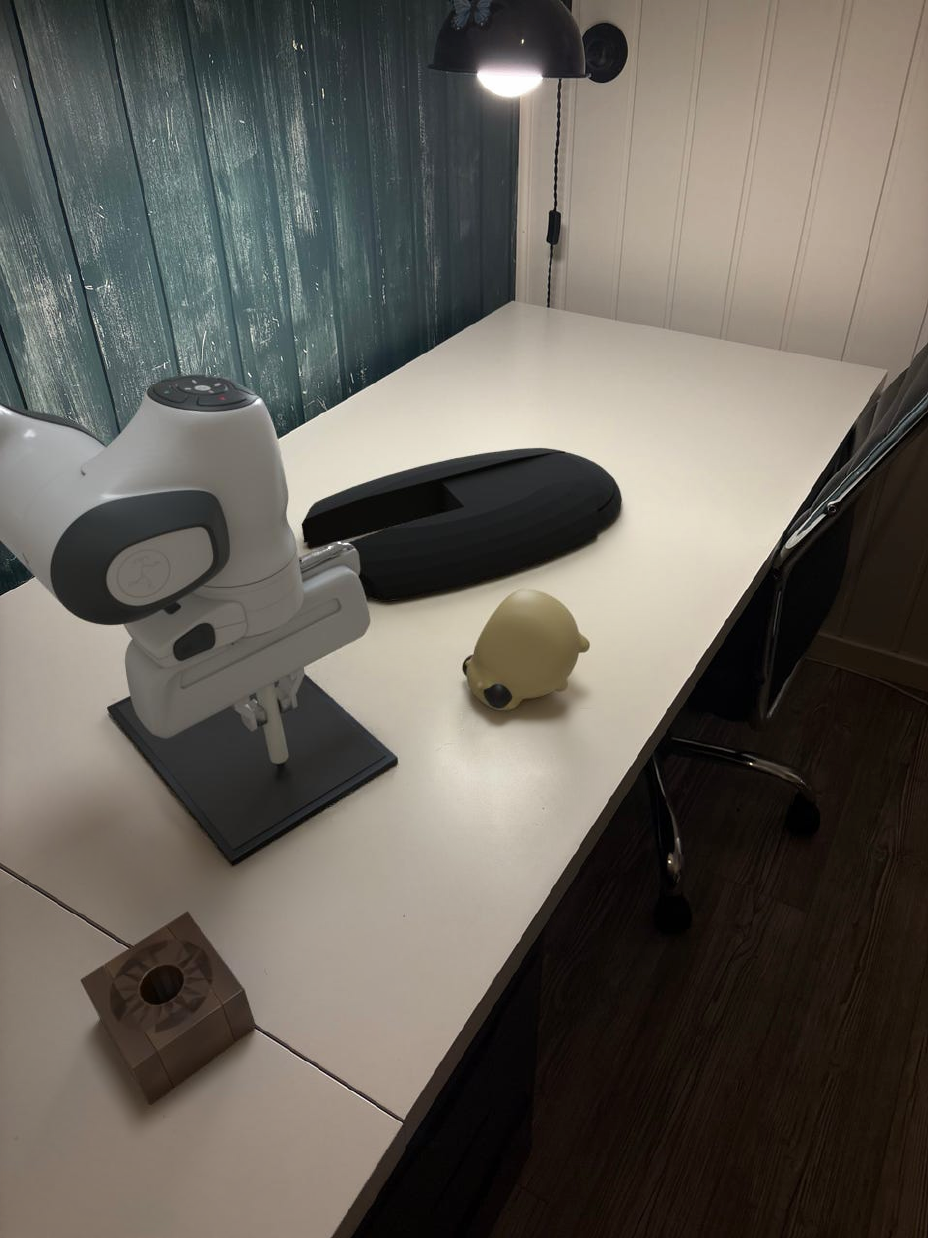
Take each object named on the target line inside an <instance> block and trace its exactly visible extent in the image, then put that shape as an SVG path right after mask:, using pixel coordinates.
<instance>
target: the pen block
mask: <svg viewBox="0 0 928 1238" xmlns="http://www.w3.org/2000/svg"><path fill="white" fill-rule="evenodd" d="M80 984H81V985H82V988H84V990H85V992H86V995H87V996H88V999H89V1000H90V1003H91V1004H92V1006H93V1008H94V1010H95V1012H96V1014H97V1016H98V1017H99V1019H100V1021H101V1023H102V1025H103V1027H104V1029H106V1032H107V1033H108V1035H109V1036H110V1039H111V1040H112V1042H113V1043H114V1045H115V1047H116V1049H117V1051H118V1052H119V1054H120V1055H121V1057H122V1059H123V1061H124V1063H125V1064H126V1067H127V1068H128V1070H129V1072H130V1074H131V1075H132V1077H133V1078H134V1080H135V1082H136V1084H137V1085H138V1088H139V1089H140V1090H141V1092H142V1094H143V1096H144V1097H145V1100H146V1101H147V1103H148V1104H149V1106H150V1105H153V1104H155V1102H157V1101H158V1100H159V1099H161V1098H162V1097H164V1096H165V1095H166V1094H168V1093H170V1092H171V1091H172V1090H173V1089H174V1088H176V1087H178V1086H179V1085H180V1084H182V1083H183V1082H184V1081H186V1080H187V1079H189V1078H190V1077H191V1076H192V1075H194V1074H195V1073H197V1072H198V1071H199V1070H200V1069H202V1068H203V1067H204V1066H206V1065H207V1064H209V1063H210V1062H211V1061H214V1059H216V1058H217V1057H218V1056H219V1055H221V1054H222V1053H223V1052H225V1051H226V1050H227V1049H229V1048H230V1047H232V1046H233V1045H235V1044H236V1043H237V1042H238V1041H239V1040H241V1039H242V1038H244V1037H245V1036H246V1035H248V1034H249V1033H250V1032H251V1031H253V1030H254V1029H256V1028H257V1025H256V1021H255V1018H254V1015H253V1012H252V1009H251V1006H250V1003H249V999H248V995H247V993H246V990H245V989H246V988H245V987H244V986H243V984H241V982H240V981H239V979H238V978H237V976H236V975H235V973H233V971H232V969H230V967H229V965H228V964H227V963H226V961H225V960H224V958H223V957H222V956H221V954H220V953H219V952H218V950H217V949H216V948H215V946H214V944H212V942H211V940H210V939H209V938H208V936H207V935H206V934H205V933H204V931H203V930H202V928H201V927H200V926H199V923H197V921H196V920H195V918H194V917H193V916H192V915H191V913H190V912H189V911H186V912H184V913H183V914H180V916H178V917H176V918H175V919H173V920H171V921H170V922H168V923H167V924H165V925H164V926H162V927H161V928H159V929H157V930H156V931H153V933H151V934H150V935H148V936H146V937H145V938H143V939H141V940H140V941H138V942H136V943H135V944H134V945H132V946H130V947H129V948H128V949H126V950H124V951H123V952H121V953H120V954H118V955H116V956H115V957H113V958H111V959H110V960H108V961H107V962H106V963H104V964H102V965H101V966H99V967H98V968H96V969H95V970H93V971H91V972H90V973H89V974H86V975H85V976H84V977H82V978H81V979H80Z"/></svg>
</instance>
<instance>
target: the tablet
mask: <svg viewBox="0 0 928 1238" xmlns="http://www.w3.org/2000/svg"><path fill="white" fill-rule="evenodd" d="M278 683H279V681H277V682H275V683H274V685H275V688H276V687H278ZM249 699H250V701H252V700H255V701H256V702H257V703H258V700H257V695H256V693H254V694H252V695H250V696H249ZM296 699H297V705H298V706H297V707H296V708H294V709H292V710H291V711H289V712H287V713H285V714H283V715H282V714H281V713H280V715H281V720H282V725H283V730H284V735H285V740H286V745H287V750H288V759H287V760H286V761H285V766H284V767H283V768H278V767H277V766H276V763H273V762H272V761H271V760H270V755H269V751H268V746H267V742H266V737H265V732H264V728H263V726H261V727H260V728H258V729H256V730H254V731H250V730H249V729H248V727H247V726H246V725H245V724H244V723H243V721H242V718H241V714H240V713H239V712H237V711H235V710H234V709H233V707H232V706H229V707H227V708H225V709H223V710H222V711H220V712H218V713H216V714H214V715H212V716H210V717H208V718H206V719H204V720H203V721H201V722H199V723H197V724H195V725H193V726H191V727H189V728H187V729H185V730H183V731H182V732H180V733H178V734H176V735H174V736H172V737H170V738H167V739H164V738H161V737H158V736H155V735H153V734H152V733H151V732H150V731H149V730H148V729H147V728H146V727H145V726H144V724H143V723H142V722H141V720H140V719H139V718H138V716H137V714H136V712H135V710H134V707H133V703H132V700H131V696H130V695H129V696H127V697H124V698H123V699H120V700H119V701H116V702H114V703H112V704H110V705H108V706H107V707H106V710H107V712H108V715H110V717H111V718H112V720H114V722H115V723H116V724H117V725H118V726H119V728H120V729H121V730H122V731H123V733H124V734H125V735H126V736H127V738H128V739H129V740H130V741H131V742H132V744H133V745H134V746H135V747H136V749H137V750H138V751H139V753H140V754H141V755H142V756H143V758H144V759H145V760H146V761H147V763H149V766H151V767H152V768H153V770H154V771H155V772H156V774H157V775H158V776H159V777H160V778H161V780H162V781H163V782H164V783H165V785H166V786H167V788H168V789H169V790H170V791H171V792H172V793H173V795H174V796H175V798H176V799H177V800H178V801H179V802H180V803H181V804H182V806H183V807H184V809H185V810H186V811H187V812H188V813H189V815H191V817H192V818H193V819H194V821H195V822H196V823H197V825H198V826H199V827H200V828H201V829H202V831H203V832H204V833H205V835H207V837H208V838H209V839H210V840H211V842H212V843H213V844H214V845H215V847H216V848H217V849H218V850H219V852H220V853H221V854H222V855H223V857H224V858H225V859H226V860H227V862H228V863H229V864H230V865H231V867H235V866H237V865H238V864H240V863H241V862H243V861H245V860H246V859H247V858H249V857H251V856H253V855H254V854H256V853H257V852H258V851H261V850H263V849H264V848H265V847H267V846H268V845H270V844H272V843H273V842H274V841H277V840H278V839H280V838H281V837H283V836H284V835H286V834H288V833H289V832H291V831H292V830H294V829H296V828H297V827H299V826H300V825H302V824H303V823H305V822H307V821H308V820H310V819H311V818H313V817H315V816H317V815H318V814H319V813H322V812H323V811H324V810H326V809H328V808H329V807H331V806H332V805H334V804H335V803H337V802H338V801H340V800H342V799H343V798H345V797H346V796H348V795H349V794H351V793H353V792H354V791H356V790H358V789H360V788H361V787H362V786H364V785H367V783H370V781H372V780H374V779H375V778H377V777H378V776H381V774H384V773H385V772H386V771H388V770H389V769H391V768H393V767H394V766H396V765H398V764H399V758H398V756H397V755H396V754H395V753H394V752H393V751H391V749H389V748H388V747H387V746H386V744H384V743H383V742H381V741H380V739H378V738H377V737H376V736H375V735H374V734H373V733H372V732H370V731H369V730H368V729H367V728H366V727H365V726H364V725H363V724H362V723H360V722H359V721H358V719H356V718H355V717H354V716H352V715H351V713H349V712H348V711H347V710H346V709H345V708H344V707H342V705H340V704H339V703H338V702H337V701H336V700H335V699H334V698H333V697H332V696H331V695H329V694H328V693H327V692H326V691H325V690H324V689H323V688H321V686H320V685H318V684H317V683H316V682H315V681H314V680H313V679H312V678H311V677H310V676H308V675H307V674H306V673H305V675H304V677H303V679H302V682H301V684H300V686H299V689H298V691H297V693H296Z"/></svg>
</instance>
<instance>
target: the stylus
mask: <svg viewBox="0 0 928 1238" xmlns="http://www.w3.org/2000/svg"><path fill="white" fill-rule="evenodd" d="M256 695H257V700H258V705H259V706H261V707H262V708H263V709H264V710H265V713H266V717H265V718H266V719H267V724H265V725H263V728H264V732H265V737H266V742H267V746H268V751H269V755H270V760H271V761H272V762H273V763H276V766H277V767H278V768H283V767H284V766H285V761H286V760H287V759H288V750H287V745H286V740H285V735H284V730H283V725H282V720H281V715H280V710H279V705H278V700H277V695H276V690H275V685H274V683H273V684H271V685H269V686H267V687H265V688H263V689H262V690H260V691H258V692H256Z"/></svg>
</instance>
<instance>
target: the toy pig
mask: <svg viewBox="0 0 928 1238" xmlns="http://www.w3.org/2000/svg"><path fill="white" fill-rule="evenodd" d="M590 646H591V643H590V641H589V640H588V638H587V637H585V636H584V634H581V632H580V631H579V628H578V624H577V621H576V619H575V618H574V616H573V614H572V612H571V611H570V610H569V608H568V607H567V606H566V605H565V604H564V603H562V602H561V600H559V599H557V598H556V597H555V596H553V595H551V594H548V593H546V592H543V591H540V590H537V589H532V588H522V589H518V590H516V591H513V592H512V593H510V594H509V595H507V596H506V598H504V599H503V600H502V601H501V602H500V604H499V605H498V606H497V607H496V609H495V610H494V611H493V613H492V615H491V616H490V617H489V619H488V620H487V622H486V624H485V625H484V627H483V629H482V630H481V632H480V635H479V636H478V639H477V641H476V642H475V646H474V649H473V653H472V654H470V655H468V656H467V657H466V658H465V659H464V661H463V663H462V669H461V670H462V673H463V675H464V676H465V677H466V682H467V685H468V686H469V688H470V690H471V691H472V693H473V694H474V695H475V696H476V697H477V698H478V699H479V701H481V702H482V703H483V704H485V705H486V706H487V707H489V708H491V709H494V710H497V711H510V710H513V709H515V708H516V707H518V706H519V705H520V703H522V701H523V700H526V699H535V698H536V699H537V698H540V697H544V696H546V695H548V694H550V693H552V692H554V691H556V692H559V693H560V692H561V693H562V692H565V691H566V690H567V689H568V686H569V683H568V678H569V677H570V676H571V674H572V672H573V671H574V669H575V667H576V664H577V662H578V659H579V656H580V654H583V653H586V652H588V651H589V649H590V648H591V647H590Z"/></svg>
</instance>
